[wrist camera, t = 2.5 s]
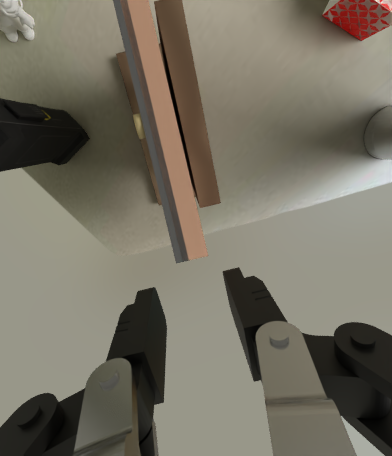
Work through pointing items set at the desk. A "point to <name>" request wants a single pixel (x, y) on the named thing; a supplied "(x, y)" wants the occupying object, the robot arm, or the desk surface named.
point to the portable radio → (37, 135)
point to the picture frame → (160, 128)
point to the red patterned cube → (360, 16)
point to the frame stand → (180, 101)
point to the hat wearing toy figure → (15, 20)
